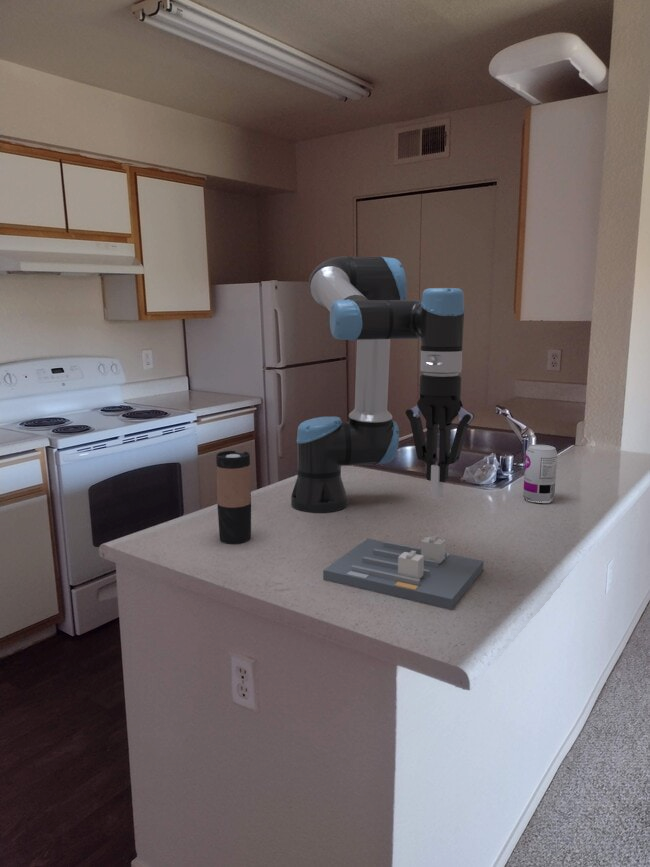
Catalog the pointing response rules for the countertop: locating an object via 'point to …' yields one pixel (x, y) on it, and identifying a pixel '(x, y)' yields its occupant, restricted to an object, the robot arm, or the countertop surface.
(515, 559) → the countertop surface
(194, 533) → the countertop surface
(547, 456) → the supplement can
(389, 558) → the switch board
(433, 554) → the tab
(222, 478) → the travel mug
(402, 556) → the tab
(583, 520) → the countertop surface
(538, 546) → the countertop surface
